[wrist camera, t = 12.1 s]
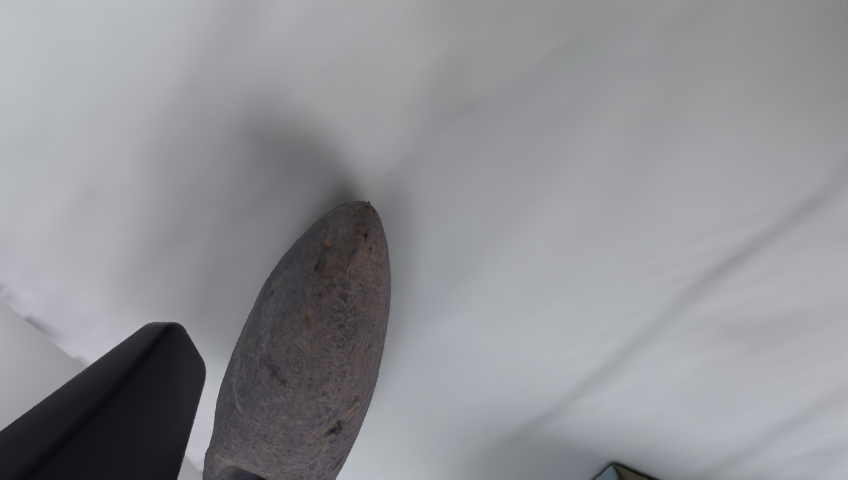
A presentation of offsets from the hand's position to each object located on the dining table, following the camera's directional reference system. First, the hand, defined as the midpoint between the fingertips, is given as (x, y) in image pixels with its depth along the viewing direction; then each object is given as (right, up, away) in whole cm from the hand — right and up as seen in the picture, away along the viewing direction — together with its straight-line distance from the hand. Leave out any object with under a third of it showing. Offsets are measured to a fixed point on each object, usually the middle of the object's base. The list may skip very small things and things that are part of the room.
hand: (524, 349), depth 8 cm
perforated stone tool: (-5, -1, +20) cm, 20 cm away
